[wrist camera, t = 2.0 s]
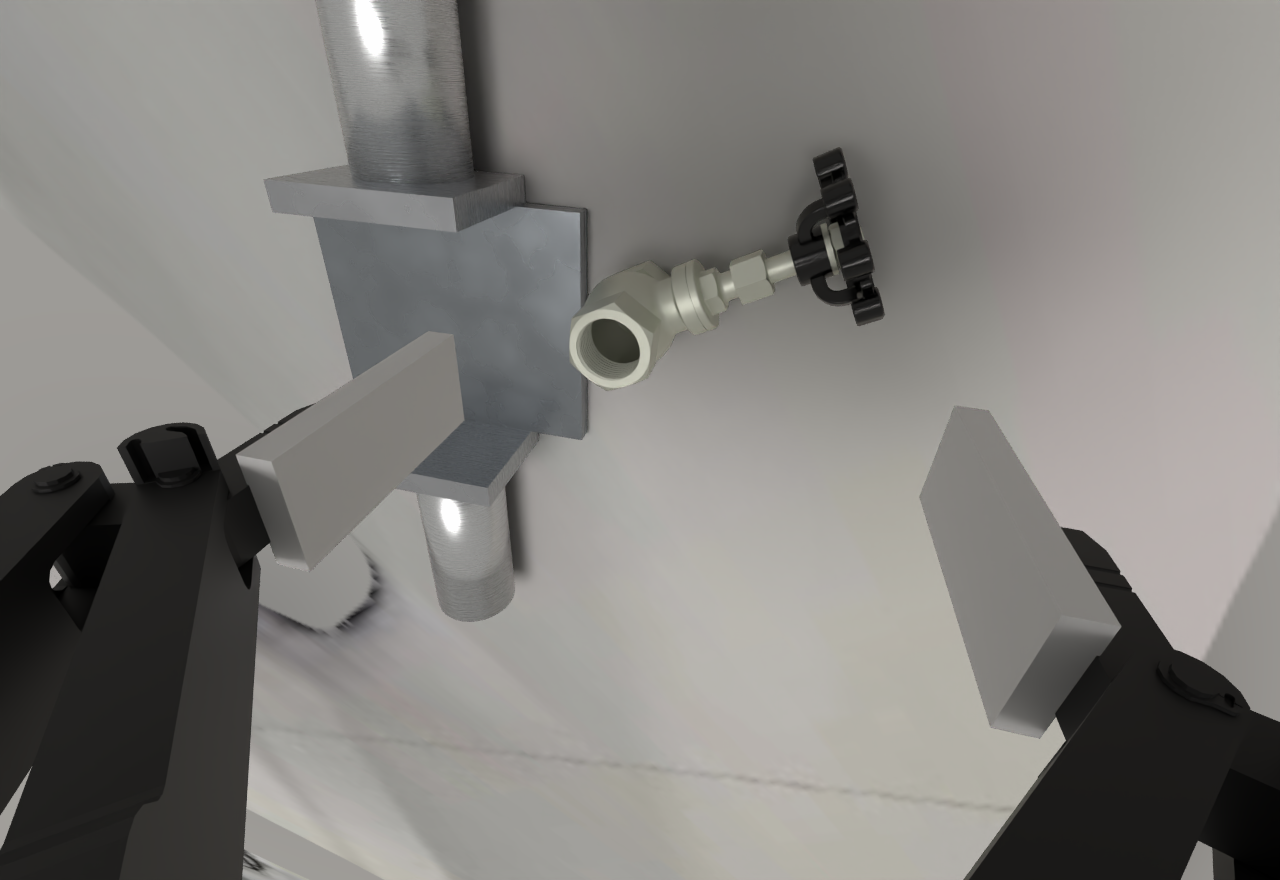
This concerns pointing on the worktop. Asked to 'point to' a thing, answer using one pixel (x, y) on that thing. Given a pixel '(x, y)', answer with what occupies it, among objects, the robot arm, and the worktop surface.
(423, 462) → the pipe run
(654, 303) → the valve
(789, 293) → the worktop surface
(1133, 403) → the worktop surface
